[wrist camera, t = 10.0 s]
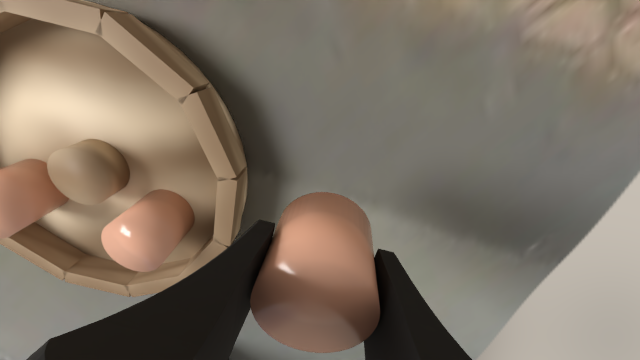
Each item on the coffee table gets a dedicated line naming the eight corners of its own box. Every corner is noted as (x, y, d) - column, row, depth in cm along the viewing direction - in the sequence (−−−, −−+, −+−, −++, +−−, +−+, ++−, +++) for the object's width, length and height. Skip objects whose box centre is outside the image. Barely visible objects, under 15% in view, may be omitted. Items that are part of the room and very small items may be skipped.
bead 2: (194, 196, 21) (163, 228, 17) (194, 239, 23) (165, 277, 19) (140, 183, 21) (97, 214, 17) (144, 228, 23) (105, 264, 19)
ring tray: (287, 245, 23) (280, 271, 21) (86, 285, 27) (59, 309, 25) (154, -63, 15) (115, -83, 13) (-102, 61, 19) (-170, 64, 17)
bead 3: (380, 260, 13) (392, 346, 9) (296, 274, 14) (277, 358, 10) (358, 182, 11) (362, 248, 8) (264, 203, 12) (229, 272, 9)
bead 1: (81, 200, 22) (28, 232, 18) (41, 211, 23) (-17, 243, 19) (45, 152, 20) (-19, 176, 17) (4, 166, 21) (-66, 192, 18)
